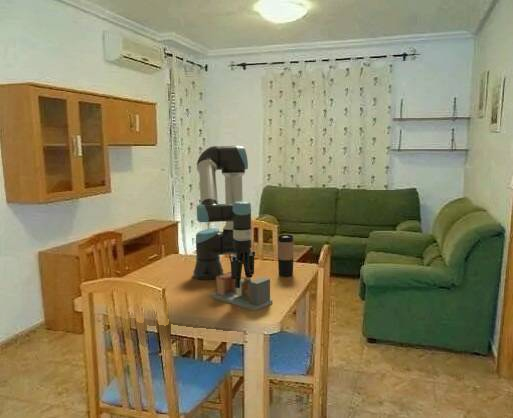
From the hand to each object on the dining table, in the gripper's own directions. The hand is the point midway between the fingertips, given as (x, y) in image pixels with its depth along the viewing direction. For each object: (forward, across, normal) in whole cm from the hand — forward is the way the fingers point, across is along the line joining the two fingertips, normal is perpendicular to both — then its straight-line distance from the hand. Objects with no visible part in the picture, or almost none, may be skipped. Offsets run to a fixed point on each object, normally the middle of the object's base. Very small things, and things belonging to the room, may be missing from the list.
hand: (243, 293), depth 188 cm
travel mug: (+3, +41, +9) cm, 42 cm away
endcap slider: (+2, 0, +10) cm, 10 cm away
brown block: (+1, 0, -3) cm, 3 cm away
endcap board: (+3, 0, +1) cm, 4 cm away
